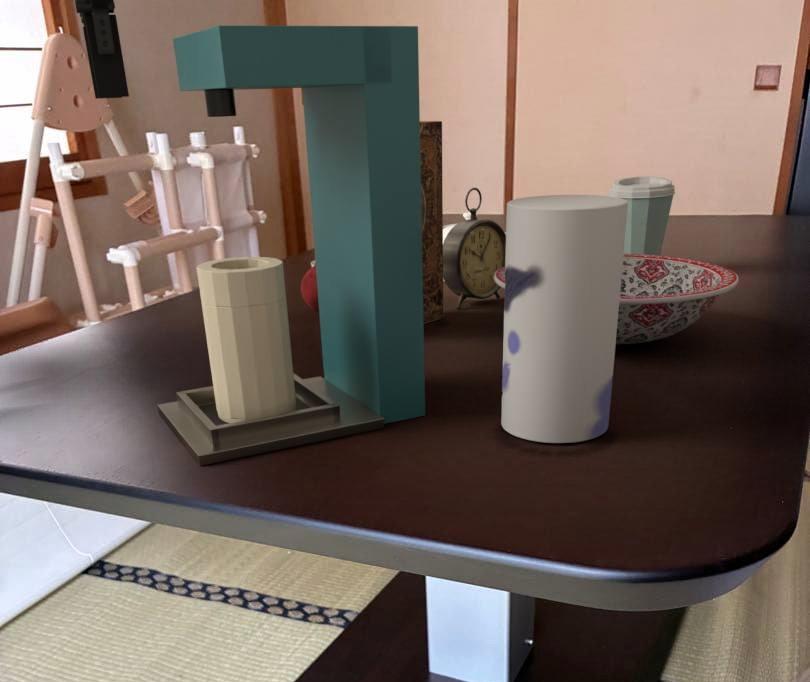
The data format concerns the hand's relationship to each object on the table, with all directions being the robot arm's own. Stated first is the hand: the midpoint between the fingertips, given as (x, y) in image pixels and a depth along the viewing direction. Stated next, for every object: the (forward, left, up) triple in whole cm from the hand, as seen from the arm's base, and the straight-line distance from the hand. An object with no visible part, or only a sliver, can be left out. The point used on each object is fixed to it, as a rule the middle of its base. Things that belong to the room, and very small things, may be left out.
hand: (111, 98), depth 84 cm
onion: (-18, +28, -29) cm, 44 cm away
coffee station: (+21, +9, -29) cm, 37 cm away
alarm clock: (-12, +50, -29) cm, 59 cm away
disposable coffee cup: (-15, +84, -29) cm, 90 cm away
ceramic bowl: (+15, +54, -29) cm, 63 cm away
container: (+37, +29, -29) cm, 55 cm away
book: (-6, +34, -29) cm, 45 cm away
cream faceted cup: (+21, +5, -28) cm, 35 cm away
